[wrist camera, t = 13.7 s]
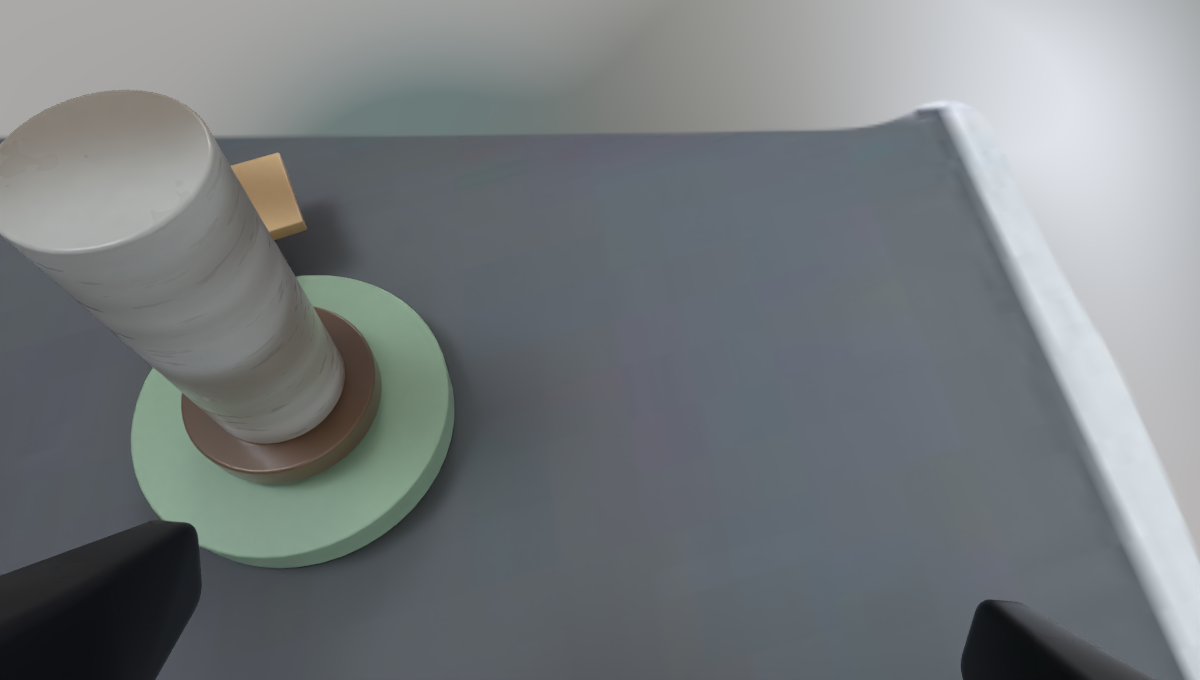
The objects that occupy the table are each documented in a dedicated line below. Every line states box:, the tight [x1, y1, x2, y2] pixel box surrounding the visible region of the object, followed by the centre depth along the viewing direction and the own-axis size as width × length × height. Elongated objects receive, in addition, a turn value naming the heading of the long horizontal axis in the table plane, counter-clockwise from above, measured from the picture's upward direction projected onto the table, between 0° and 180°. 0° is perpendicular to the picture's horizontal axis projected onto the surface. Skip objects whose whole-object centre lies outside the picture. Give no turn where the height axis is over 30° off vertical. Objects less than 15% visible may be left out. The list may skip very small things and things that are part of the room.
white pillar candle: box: [0, 90, 382, 484], centre depth 17 cm, size 11×5×10 cm, turn 26°
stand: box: [131, 275, 455, 568], centre depth 21 cm, size 9×9×2 cm
